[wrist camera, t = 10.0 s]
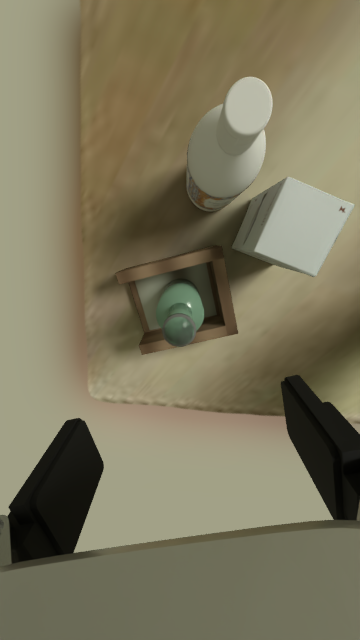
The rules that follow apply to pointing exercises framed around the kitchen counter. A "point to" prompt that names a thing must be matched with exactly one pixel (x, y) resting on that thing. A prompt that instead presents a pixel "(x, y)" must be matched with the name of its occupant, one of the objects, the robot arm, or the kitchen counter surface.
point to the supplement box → (292, 226)
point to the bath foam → (229, 145)
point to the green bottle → (180, 312)
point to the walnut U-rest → (200, 270)
